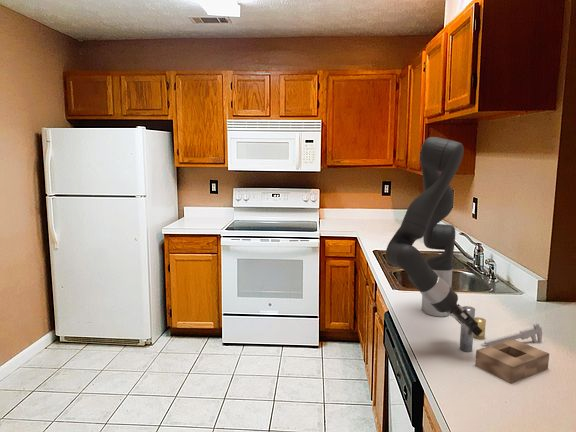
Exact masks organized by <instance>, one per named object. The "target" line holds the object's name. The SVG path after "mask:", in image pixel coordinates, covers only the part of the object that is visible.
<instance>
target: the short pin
mask: <svg viewBox="0 0 576 432" xmlns="http://www.w3.org/2000/svg"><path fill="white" fill-rule="evenodd" d="M474 320H475V321H476V322H477V323H478V325H477V326H478V327H479V328H480V329H481V330H482V333H481V334H480V335H479V336H476V335H475V334H474V333H473V339H475V340H485V338H486V337H485V336H486V325H487V323H486V322H487V320H486V319H485V318H484V317H479V316H478V317H476V316H475V318H474Z"/></svg>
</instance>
